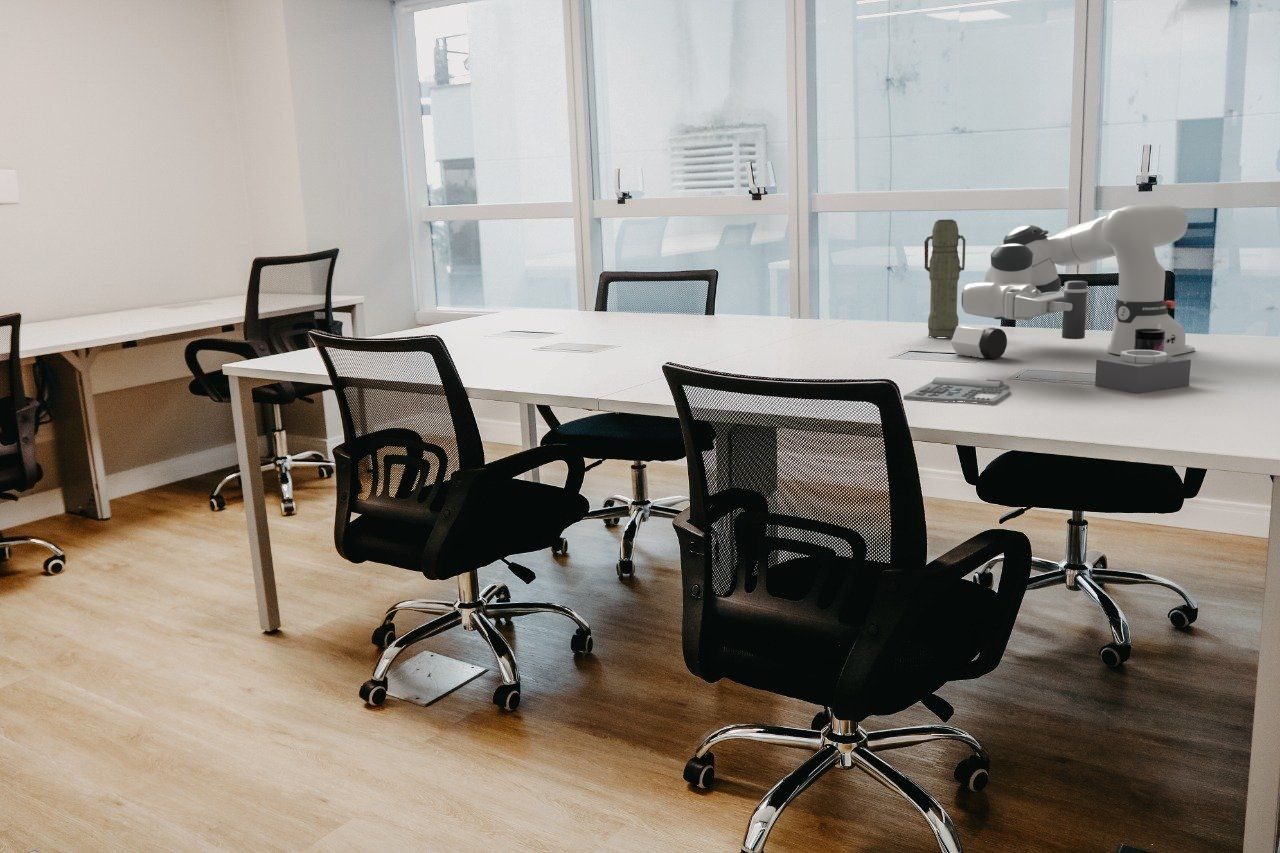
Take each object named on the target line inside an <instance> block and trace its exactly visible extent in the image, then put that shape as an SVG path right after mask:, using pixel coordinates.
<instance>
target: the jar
mask: <svg viewBox="0 0 1280 853" xmlns="http://www.w3.org/2000/svg"><path fill="white" fill-rule="evenodd" d="M950 343H951V345H952V347H953V350H954V351H955V354H956V355H958V356H963V355H964V356H965V357H970V356H972V358H977V357H978V359H989V358H990V360H997V359H999V358H1001V357H1002V356H1003V354H1004V353H1005V352H1006V350H1007V346H1008V337H1007V334H1006V332H1005V331H1004V330H1003V329H1001V328H996V327H994V326H988V325H978V324H977V325H975V324H968V323H967V324H963V325H958V326H957V327H956V330H955V332H954V335H953V338H951V340H950Z"/></svg>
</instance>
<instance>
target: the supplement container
mask: <svg viewBox="0 0 1280 853" xmlns="http://www.w3.org/2000/svg"><path fill="white" fill-rule="evenodd" d="M1134 337H1135V338H1134V350H1155V351H1162V352H1164V343H1165V330H1161V329H1136V330H1135V336H1134Z"/></svg>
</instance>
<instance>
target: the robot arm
mask: <svg viewBox="0 0 1280 853" xmlns="http://www.w3.org/2000/svg"><path fill="white" fill-rule="evenodd" d="M1188 225H1189V219H1188V216H1187V214H1186V212H1185V211H1184V210H1183V209H1182V208H1181V207H1179V206H1176V205H1174V204H1168V203H1149V204H1147V203H1146V204H1136V205H1135V204H1132V205H1124V206H1123V207H1119V208H1117V209H1113V210H1112V211H1110V212H1109V213H1108V214H1106V215H1105V216H1102V217H1101V216H1100V217H1098V218H1094V219H1091V220H1088V221H1085V222H1082V223H1079V224H1076V225H1073V226H1070V227H1068V228H1066V229H1063V230H1062V231H1061V230H1060V231H1059V232H1058V233H1056V234H1054V235H1052V236H1048V235H1047V234H1049V233H1050V231H1049V230H1047V229H1042V228H1041V227H1039V226H1036V225H1032V224H1030V225H1021V226H1018V227H1015V228H1013V229H1012V230H1011V231H1010V232H1008V234H1006V235H1005V236H1004V238H1003V241H1002V242H1003V244H1002V245H1000V246H999V245H998V246H997V247H996V248H994V249H993V251H992V252H991V253H990V267H989V268H988V270H987V271H986V273H985V277H984V281H980V282H979V281H978V282H977V281H976V282H970V283H966V284H965V285H964V287H963V289H962V292H961V308H962V309H963V312H964V313H965V314H968V315H973V316H976V317H982V318H991V319H994V320H1000V321H1001V320H1003V321H1013V320H1015V321H1017V320H1018V321H1030V320H1032V319H1033V318H1034V317H1040V316H1044V315H1045V316H1046V315H1049V314H1054V313H1057V312H1063V311H1071V310H1073V309H1074V303H1069V302H1066V303H1064V291H1061V289H1062V282H1061V278H1060V276H1059V275H1058V270H1057V266H1056V265H1058V266H1061V267H1064V266H1065V267H1069V266H1079V265H1080V266H1081V265H1084V264H1089V263H1092V262H1097V261H1100V260H1104V259H1105V260H1106V259H1109V258H1113V257H1115V258H1116V262H1117V266H1118V269H1117V270H1118V290H1117V291H1118V292H1117V293H1118V294H1117V295H1118V296H1117V299H1116V301H1115V306H1114V307H1115V310H1114V311H1115V313H1116V317H1115V319H1114V322H1113V327H1112V333H1111V338H1110V339H1111V340H1110V344H1108V345H1107V351H1108V353H1109V354H1112V355H1113V354H1114V355H1119V356H1121V351H1127V350H1134V338H1135V337H1134V336H1135V330H1136V329H1161V330H1165V343H1164V352H1166V354H1167V356H1171V357H1174V356H1178V355H1181V354H1187V353H1191V352H1195V351H1196V348H1195V346H1193V345H1189V344H1186V331H1185V328H1184V327H1183V326H1182V325H1181V324H1180V323H1178V322H1177V320H1175V319H1174V318H1173V317H1172V316H1171V315H1169V310H1168V309H1172V310H1173V309H1175V307H1176V301H1174V300H1165V299H1164V298H1165V284H1166V270H1165V268H1164V267H1163V266H1162V264H1160V263H1159V262H1158V259H1157V256H1156V250H1155V248H1159V247H1162V246H1166V245H1169V244H1171V243H1172V244H1173V243H1174V242H1177V241H1179V240H1180V239H1182V237H1183V236H1184V235H1185V234H1186V232H1187V230H1188V227H1189V226H1188ZM1087 303H1088V302H1086V306H1088V305H1087Z"/></svg>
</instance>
